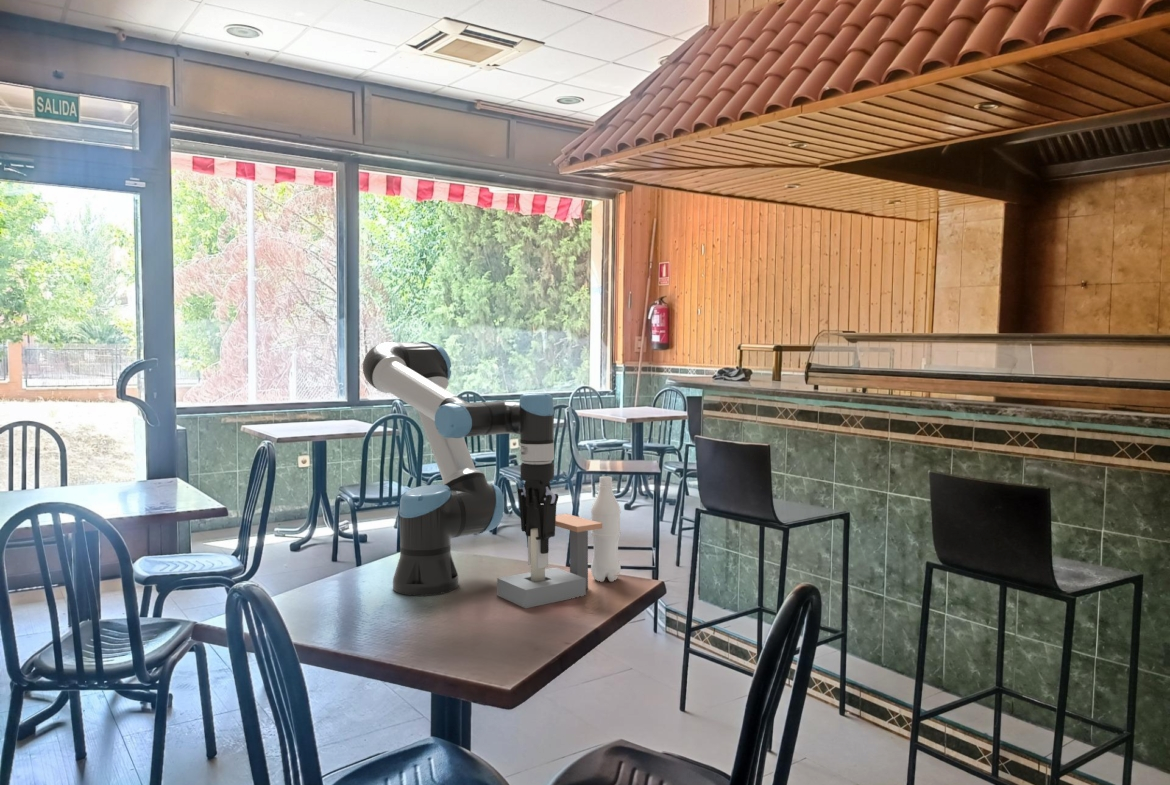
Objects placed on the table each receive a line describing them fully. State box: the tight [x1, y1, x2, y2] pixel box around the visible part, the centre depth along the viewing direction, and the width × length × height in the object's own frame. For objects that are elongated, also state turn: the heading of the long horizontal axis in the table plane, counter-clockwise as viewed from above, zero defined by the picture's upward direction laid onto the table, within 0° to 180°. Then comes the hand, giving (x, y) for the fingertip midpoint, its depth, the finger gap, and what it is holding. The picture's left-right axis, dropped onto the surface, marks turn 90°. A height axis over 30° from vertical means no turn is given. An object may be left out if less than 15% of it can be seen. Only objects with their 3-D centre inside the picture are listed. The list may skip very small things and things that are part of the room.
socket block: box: [496, 566, 587, 609], centre depth 184 cm, size 12×16×4 cm
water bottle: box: [590, 475, 621, 583], centre depth 197 cm, size 7×7×25 cm
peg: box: [530, 528, 546, 583], centre depth 183 cm, size 3×3×12 cm
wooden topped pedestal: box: [555, 513, 602, 589], centre depth 188 cm, size 14×7×16 cm, turn 36°
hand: (538, 565), depth 183 cm, fingers closed on peg, 3 cm apart
